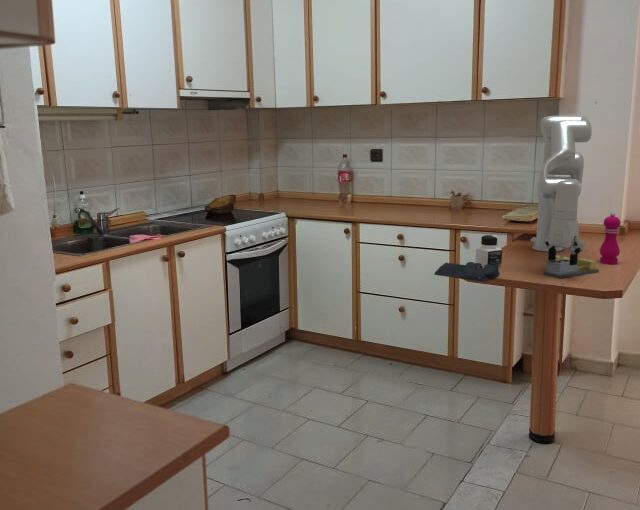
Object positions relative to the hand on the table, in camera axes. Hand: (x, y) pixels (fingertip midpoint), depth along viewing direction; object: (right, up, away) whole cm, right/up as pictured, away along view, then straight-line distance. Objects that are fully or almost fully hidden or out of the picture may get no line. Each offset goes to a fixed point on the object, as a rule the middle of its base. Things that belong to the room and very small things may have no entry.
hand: (562, 262), depth 233 cm
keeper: (+4, -4, +3) cm, 7 cm away
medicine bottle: (-23, -2, +16) cm, 28 cm away
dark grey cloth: (-34, -5, +3) cm, 34 cm away
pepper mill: (+26, -1, +20) cm, 33 cm away
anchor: (+8, 0, +22) cm, 23 cm away
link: (0, -4, +1) cm, 4 cm away
